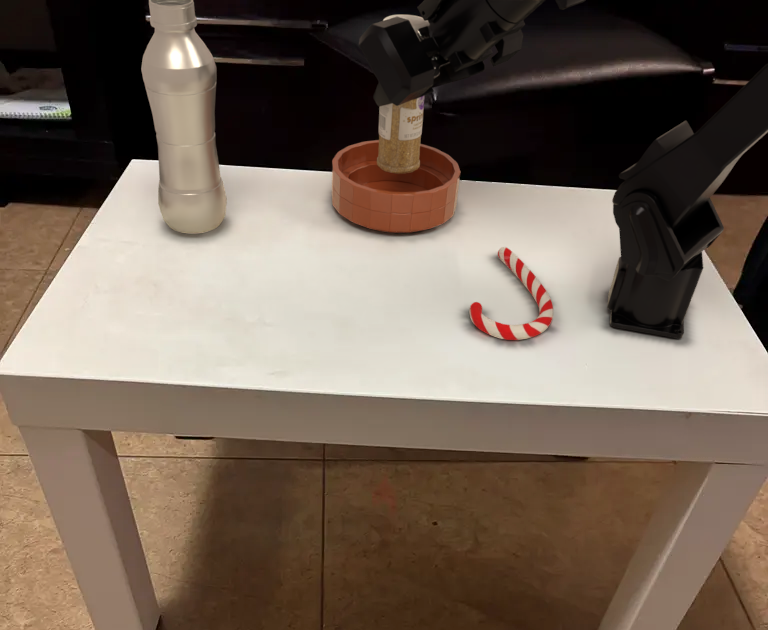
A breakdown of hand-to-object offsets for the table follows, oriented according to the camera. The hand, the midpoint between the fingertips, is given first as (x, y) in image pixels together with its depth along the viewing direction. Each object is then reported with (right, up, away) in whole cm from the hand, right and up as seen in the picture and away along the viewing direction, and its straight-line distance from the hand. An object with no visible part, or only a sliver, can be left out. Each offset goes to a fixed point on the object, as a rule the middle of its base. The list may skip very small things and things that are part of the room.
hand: (391, 95), depth 81 cm
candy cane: (+11, -21, -4) cm, 24 cm away
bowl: (0, -8, +8) cm, 11 cm away
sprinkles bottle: (+1, -5, +4) cm, 7 cm away
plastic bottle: (-20, -12, +2) cm, 23 cm away
